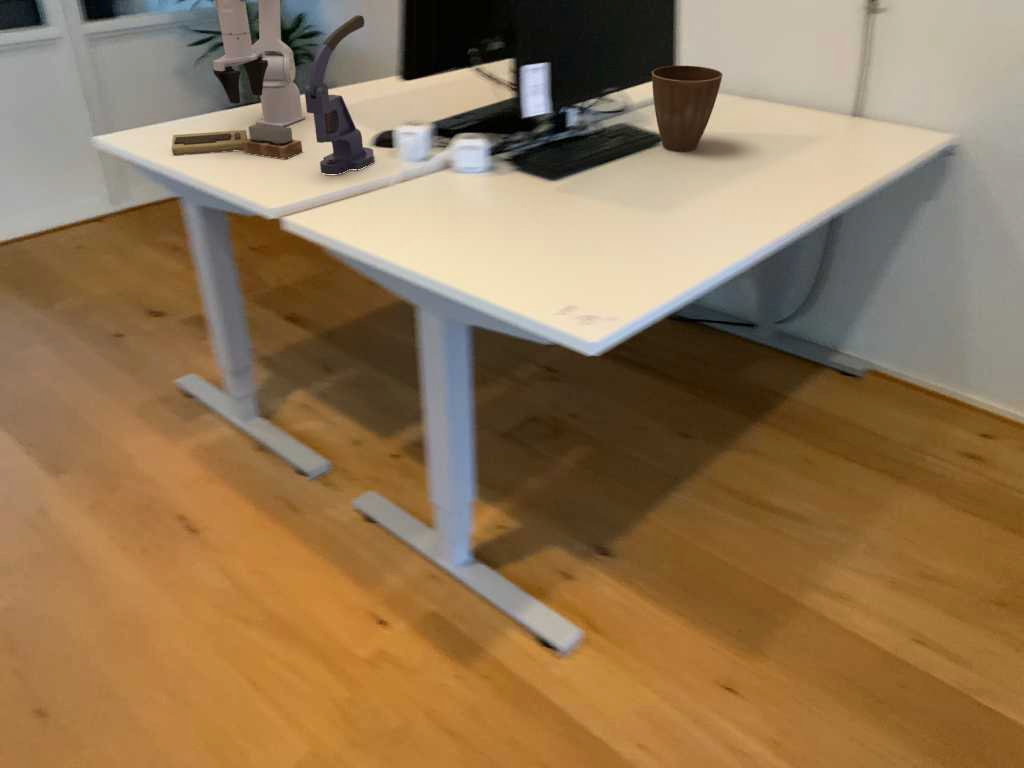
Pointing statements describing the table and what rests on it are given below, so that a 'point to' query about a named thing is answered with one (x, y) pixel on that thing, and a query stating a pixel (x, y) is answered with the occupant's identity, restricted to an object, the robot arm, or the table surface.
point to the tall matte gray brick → (270, 134)
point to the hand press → (335, 111)
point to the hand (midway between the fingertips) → (246, 98)
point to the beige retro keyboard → (208, 142)
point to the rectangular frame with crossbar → (272, 148)
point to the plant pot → (684, 103)
